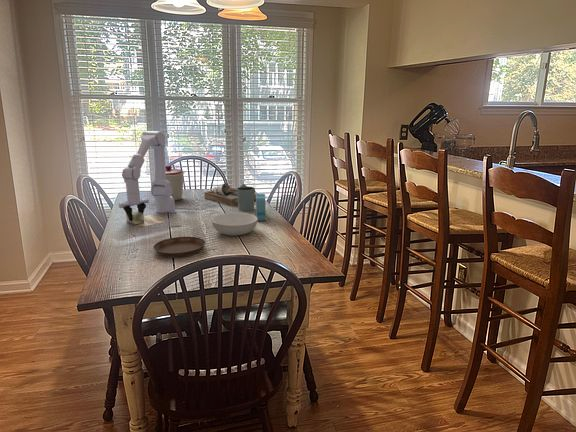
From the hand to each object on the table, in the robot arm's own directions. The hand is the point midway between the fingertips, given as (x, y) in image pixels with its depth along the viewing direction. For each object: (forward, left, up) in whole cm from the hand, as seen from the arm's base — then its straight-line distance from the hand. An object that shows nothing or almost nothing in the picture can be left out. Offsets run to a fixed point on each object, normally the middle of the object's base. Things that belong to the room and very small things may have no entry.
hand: (135, 219), depth 211 cm
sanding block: (0, -1, -2) cm, 2 cm away
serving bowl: (-27, +43, -3) cm, 51 cm away
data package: (-51, +34, -3) cm, 61 cm away
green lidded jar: (-58, +14, -3) cm, 60 cm away
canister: (-41, -37, -3) cm, 55 cm away
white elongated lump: (-68, -10, -3) cm, 69 cm away
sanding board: (-6, 0, -3) cm, 7 cm away
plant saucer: (+4, +46, -4) cm, 46 cm away
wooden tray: (-66, -11, -3) cm, 67 cm away
